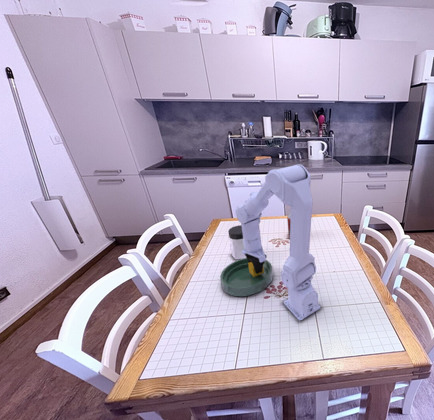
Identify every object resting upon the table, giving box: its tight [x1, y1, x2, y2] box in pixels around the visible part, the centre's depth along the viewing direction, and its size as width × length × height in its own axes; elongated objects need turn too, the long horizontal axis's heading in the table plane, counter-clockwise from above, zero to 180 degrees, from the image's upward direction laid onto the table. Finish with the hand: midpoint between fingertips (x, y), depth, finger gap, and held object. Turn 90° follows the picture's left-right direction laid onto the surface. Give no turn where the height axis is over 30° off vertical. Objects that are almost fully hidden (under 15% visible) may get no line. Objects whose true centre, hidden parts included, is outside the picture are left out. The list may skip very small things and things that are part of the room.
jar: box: [227, 224, 246, 260], centre depth 99 cm, size 9×8×12 cm
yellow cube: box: [248, 262, 264, 277], centre depth 86 cm, size 4×4×4 cm
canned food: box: [286, 212, 291, 238], centre depth 115 cm, size 8×8×11 cm
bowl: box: [219, 258, 274, 297], centre depth 85 cm, size 18×18×4 cm
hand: (256, 269), depth 87 cm, fingers closed on yellow cube, 4 cm apart
